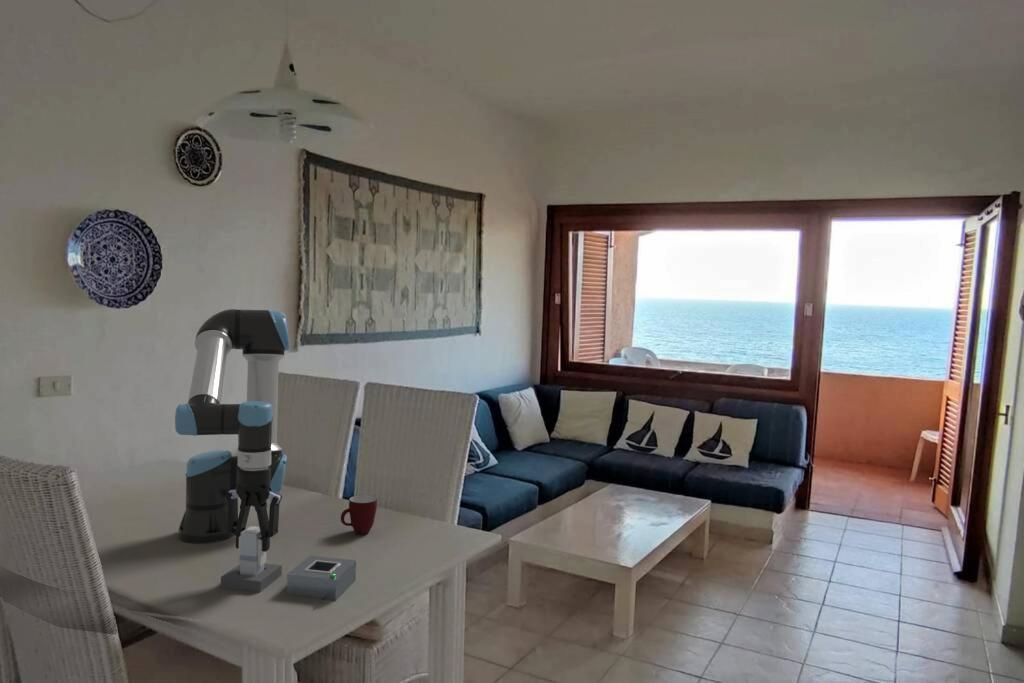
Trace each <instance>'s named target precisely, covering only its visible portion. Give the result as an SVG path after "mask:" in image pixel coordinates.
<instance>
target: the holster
mask: <svg viewBox="0 0 1024 683" xmlns="http://www.w3.org/2000/svg"><path fill="white" fill-rule="evenodd" d="M282 567H283V565H282V564H273V563H267V562H265V563H264V571H263V572H261V573H260V574H259V575H257V576H251V575H242V574H240V564H238V565H236V566H235V567H233V568H232V569H230V570H229V571H227V572H226V573H224V574H223V575H222V576H220V588H221V589H222V588H223V589H231V590H238V591H247V592H248V591H249V592H253V593H261V592H263V591H264V590H265V589H267V588H268V587H269V586H270V585H271V584H273V582H275V581H276V580H277V579H279V578H280V577H282V572H283V571H282V570H283V569H282Z"/></svg>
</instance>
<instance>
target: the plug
mask: <svg viewBox="0 0 1024 683" xmlns="http://www.w3.org/2000/svg"><path fill="white" fill-rule="evenodd" d="M260 537H261V533H260V527H259V526H255V525H254V526H253V525H251V526H249V527H247V528H245V530H244V531H243V532H241V544H240V574H242V575H251V576H257V575H259V574H260V573H261V572H263V571H264V564H263V565H261V566H257V563H258V539H259V538H260Z"/></svg>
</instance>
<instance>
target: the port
mask: <svg viewBox="0 0 1024 683" xmlns="http://www.w3.org/2000/svg"><path fill="white" fill-rule="evenodd" d="M356 572H357V560H356V559H355V560H354V559H346V558H337V557H330V556H329V557H328V556H319V555H317V556H316V555H308V556H307V557H306V558H305V559H304V560H303V561H301V562H300V563H299V564H298V565H296V567H294V568H293V569H292V570H290V571H289V572H288V573H286V594H289V595H290V594H291V595H299V596H306V597H314V598H321V600H324V601H331V602H332V601H333V602H336V601H338V599H339V598H340V597H341V596H342V595H344V594H345V592H346V591H347V590H348V589H349V587H351V585H353V583H355V581H356V575H357V574H356Z"/></svg>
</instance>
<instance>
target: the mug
mask: <svg viewBox="0 0 1024 683" xmlns="http://www.w3.org/2000/svg"><path fill="white" fill-rule="evenodd" d="M377 509H378V499H377V497H376V496H373V495H369V494H360V495H355V496H351V497H350V498H349V500H348V508H346V509H344V510H343V511H342V512H341V514H340V522H341V523H342V524H343V525H344V526H348V527H352V529H353V530H354V533H355V534H357V535H366V534H369V533H370V531H371V529H372V527H373V525H374V523H375V518H376V514H377V513H376V512H377ZM348 513H349V517H350V518H349V519H350V522H346V521H345V516H346V515H347V514H348Z"/></svg>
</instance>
